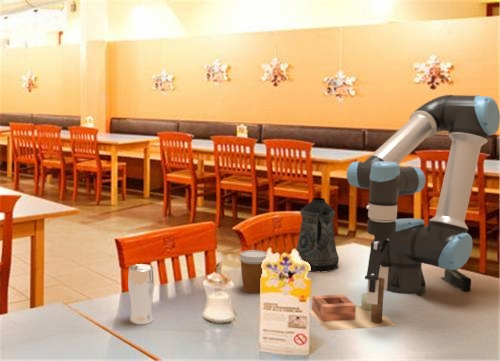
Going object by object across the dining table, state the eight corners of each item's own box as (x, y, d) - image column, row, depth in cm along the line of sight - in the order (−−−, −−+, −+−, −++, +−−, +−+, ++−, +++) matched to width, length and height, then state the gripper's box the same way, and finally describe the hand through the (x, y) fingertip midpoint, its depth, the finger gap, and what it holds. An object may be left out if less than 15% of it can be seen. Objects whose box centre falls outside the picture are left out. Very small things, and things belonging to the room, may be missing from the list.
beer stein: (316, 257, 238) (318, 193, 235) (353, 269, 223) (357, 201, 220) (283, 264, 228) (285, 197, 225) (321, 277, 213) (323, 205, 209)
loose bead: (372, 305, 183) (373, 292, 182) (379, 310, 179) (379, 297, 178) (358, 306, 182) (359, 293, 181) (364, 311, 178) (365, 298, 177)
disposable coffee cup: (265, 296, 192) (266, 258, 190) (235, 293, 194) (236, 256, 192) (270, 287, 201) (271, 251, 199) (241, 284, 203) (242, 248, 201)
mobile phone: (473, 278, 200) (448, 264, 214) (465, 278, 199) (440, 264, 214) (472, 292, 201) (447, 278, 215) (463, 293, 200) (439, 278, 214)
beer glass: (158, 318, 172) (158, 265, 169) (146, 327, 165) (146, 272, 163) (136, 314, 174) (136, 262, 172) (123, 323, 167) (123, 269, 165)
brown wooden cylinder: (379, 319, 172) (381, 277, 170) (383, 323, 169) (386, 280, 167) (369, 319, 171) (371, 277, 169) (373, 323, 168) (375, 280, 167)
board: (372, 308, 183) (373, 292, 182) (396, 329, 167) (397, 311, 166) (307, 312, 178) (307, 295, 178) (325, 333, 163) (326, 315, 162)
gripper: (377, 210, 179) (372, 282, 182) (357, 226, 156) (352, 307, 159) (403, 213, 176) (398, 285, 179) (387, 229, 153) (382, 312, 156)
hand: (377, 296), depth 169 cm, fingers open, 13 cm apart
